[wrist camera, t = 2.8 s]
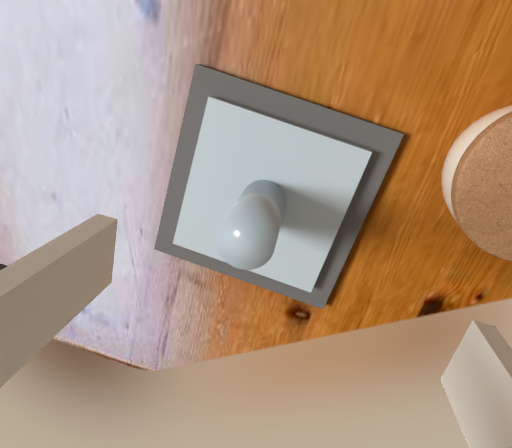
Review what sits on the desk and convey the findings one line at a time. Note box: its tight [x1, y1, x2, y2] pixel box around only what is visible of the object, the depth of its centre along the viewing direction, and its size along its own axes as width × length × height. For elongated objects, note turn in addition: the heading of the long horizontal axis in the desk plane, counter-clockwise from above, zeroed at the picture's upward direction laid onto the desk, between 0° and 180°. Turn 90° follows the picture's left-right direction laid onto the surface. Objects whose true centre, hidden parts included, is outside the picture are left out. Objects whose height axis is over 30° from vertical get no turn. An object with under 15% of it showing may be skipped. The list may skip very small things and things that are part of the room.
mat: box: [154, 64, 404, 309], centre depth 34 cm, size 18×18×1 cm
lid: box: [173, 96, 372, 292], centre depth 29 cm, size 14×14×10 cm
